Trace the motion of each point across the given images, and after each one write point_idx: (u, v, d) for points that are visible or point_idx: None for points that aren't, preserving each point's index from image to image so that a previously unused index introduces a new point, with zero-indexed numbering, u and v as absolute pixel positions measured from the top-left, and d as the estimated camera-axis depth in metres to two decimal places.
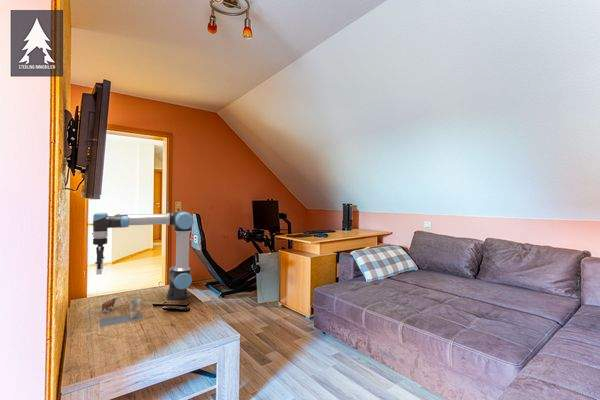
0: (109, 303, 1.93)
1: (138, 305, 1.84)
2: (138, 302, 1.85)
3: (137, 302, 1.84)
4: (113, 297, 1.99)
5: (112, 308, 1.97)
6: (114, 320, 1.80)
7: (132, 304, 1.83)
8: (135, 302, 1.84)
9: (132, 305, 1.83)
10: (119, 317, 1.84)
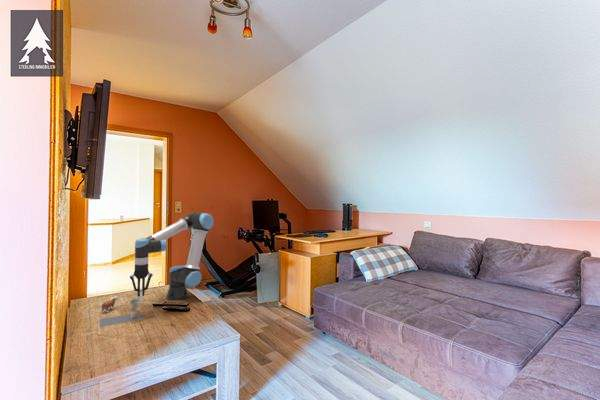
0: (109, 303, 1.93)
1: (137, 305, 1.84)
2: (138, 302, 1.85)
3: (137, 302, 1.84)
4: (113, 297, 1.99)
5: (112, 308, 1.97)
6: (114, 320, 1.80)
7: (132, 304, 1.83)
8: (135, 302, 1.84)
9: (132, 305, 1.83)
10: (119, 317, 1.84)
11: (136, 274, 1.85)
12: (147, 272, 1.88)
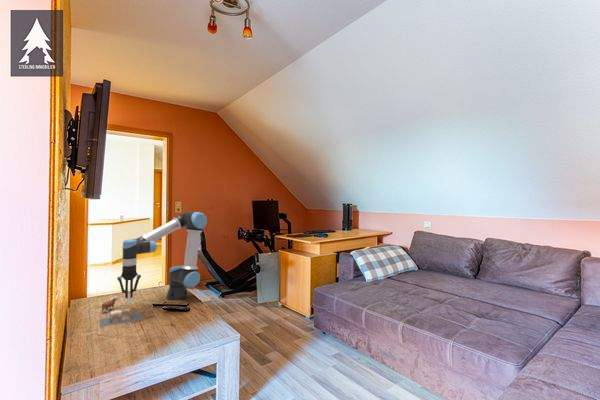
0: (109, 303, 1.93)
1: (115, 314, 1.78)
2: (112, 315, 1.77)
3: (112, 316, 1.77)
4: (113, 297, 1.99)
5: (112, 308, 1.97)
6: None
7: (113, 320, 1.78)
8: (111, 317, 1.77)
9: (114, 320, 1.78)
10: None
11: (124, 275, 1.81)
12: (135, 273, 1.85)
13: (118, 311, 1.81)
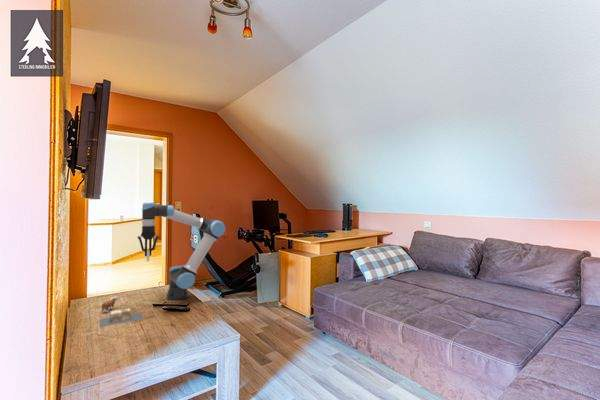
0: (109, 303, 1.93)
1: (115, 314, 1.78)
2: (112, 315, 1.77)
3: (112, 316, 1.77)
4: (113, 297, 1.99)
5: (112, 308, 1.97)
6: None
7: (113, 320, 1.78)
8: (111, 317, 1.77)
9: (114, 320, 1.78)
10: None
11: (143, 235, 1.96)
12: (154, 233, 2.00)
13: (118, 311, 1.81)
